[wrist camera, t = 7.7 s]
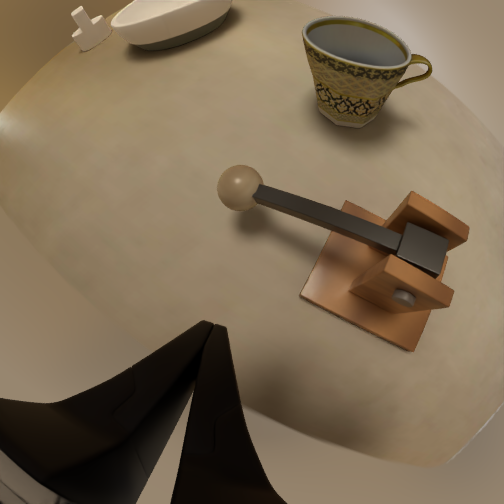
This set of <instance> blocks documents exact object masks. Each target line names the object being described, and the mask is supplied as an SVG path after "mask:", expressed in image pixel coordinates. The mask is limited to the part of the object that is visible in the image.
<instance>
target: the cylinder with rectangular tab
mask: <svg viewBox="0 0 504 504" xmlns="http://www.w3.org/2000/svg"><path fill="white" fill-rule="evenodd" d="M72 17H73V19H74V20H75V21H76V23H77V24H78V26H79V27H80V28H79V29H78V30H77V31H75V33H74V34H73V35H72V37H73V39H74V40H75V42H76V43H77V44H78V46H79V47H80V48H81V50H82V51H87V50H90V49H91V48H93V47H95V46H96V45H98V44H99V43H101V42H102V41H103V40H105V39H106V38H107V37H108V36H109V35H110V34H111V32H112V31H111V29H110V27H109V26H108V24H107V22H106V21H105V19H104V17H103V16H102V15H101V16H98V17H95V18H93V19H92V20H90V18H89V17H88V15H87V13H86V12H85V10H84V9H83V7H82V6H80V7H79V8H77V9H76V10H75V11H73V12H72Z"/></svg>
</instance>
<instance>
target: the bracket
mask: <svg viewBox="0 0 504 504" xmlns="http://www.w3.org/2000/svg"><path fill="white" fill-rule="evenodd" d="M341 211H343V212H346V213H348V214H351V215H354V216H356V217H359V218H362V219H364V220H367V221H369V222H372V223H375V224H377V225H380V226H382V227H385V228H387V229H390V230H392V231H394V232H397V233H399V234H402V235H403V232H404V230H405V227H406V224H407V222H409V223H412V224H414V225H416V226H419V227H421V228H423V229H426V230H428V231H430V232H433V233H435V234H437V235H439V236H442V237H444V238H446V239H448V240H449V244H448V248H447V252H448V251H449V250H451V249H453V248H455V247H457V246H459V245H461V244H462V243H464V242H466V241H467V239H468V234H469V226H468V225H466V224H465V223H463V222H462V221H460V220H459V219H457V218H456V217H454V216H453V215H451V214H450V213H448V212H447V211H445V210H443V209H442V208H440V207H439V206H437V205H435V204H434V203H432V202H430V201H429V200H427V199H425V198H424V197H422V196H420V195H419V194H417V193H415V192H413V191H411V192H410V193H409V194H408V196H407V197H406V198H405V199H404V200H403V202H402V203H401V204H400V205H399V206H398V208H397V209H396V210H395V211H394V212H393V214H392V215H391V216H390V217H389V218H388V219H387V220H384V219H382V218H380V217H378V216H377V215H375V214H373V213H371V212H369V211H367V210H365V209H363V208H361V207H359V206H357V205H355V204H353V203H351V202H349V201H347V200H346V201H345V203H344V205H343V207H342V209H341ZM447 260H448V256H445V259H444V263H443V266H442V270H441V273H440V275H439V276H438V277H437V278H436V279H434V278H433V277H431V276H429V275H428V274H426V273H424V272H422V271H421V270H419V269H417V268H416V267H414V266H412V265H410V264H408V263H407V262H405V261H403V260H401V259H399V258H398V257H396V256H394V255H392V254H387V253H385V252H383V251H380V250H378V249H376V248H373V247H371V246H368V245H366V244H363V243H361V242H359V241H356V240H354V239H351V238H349V237H346V236H344V235H341V234H339V233H336V232H334V231H331V233H330V235H329V237H328V239H327V241H326V243H325V245H324V247H323V250H322V252H321V254H320V256H319V258H318V260H317V262H316V264H315V266H314V268H313V270H312V272H311V274H310V276H309V277H308V279H307V281H306V283H305V285H304V287H303V289H302V291H301V293H300V295H299V296H300V297H302V298H304V299H306V300H308V301H310V302H311V303H313V304H315V305H317V306H319V307H321V308H323V309H325V310H327V311H329V312H331V313H333V314H335V315H337V316H339V317H341V318H343V319H345V320H347V321H349V322H351V323H353V324H355V325H357V326H359V327H361V328H363V329H365V330H367V331H369V332H371V333H373V334H375V335H377V336H379V337H381V338H383V339H385V340H387V341H389V342H391V343H393V344H395V345H397V346H399V347H401V348H403V349H405V350H407V351H411V352H414V350H415V348H416V346H417V343H418V341H419V339H420V337H421V334H422V332H423V329H424V327H425V325H426V322H427V320H428V317H429V315H430V312H431V310H433V309H440V308H447V307H449V306H450V303H451V300H452V297H453V294H454V290H453V289H451V288H449V287H448V286H446V285H444V284H443V283H441V280H442V277H443V274H444V270H445V267H446V263H447Z"/></svg>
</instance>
